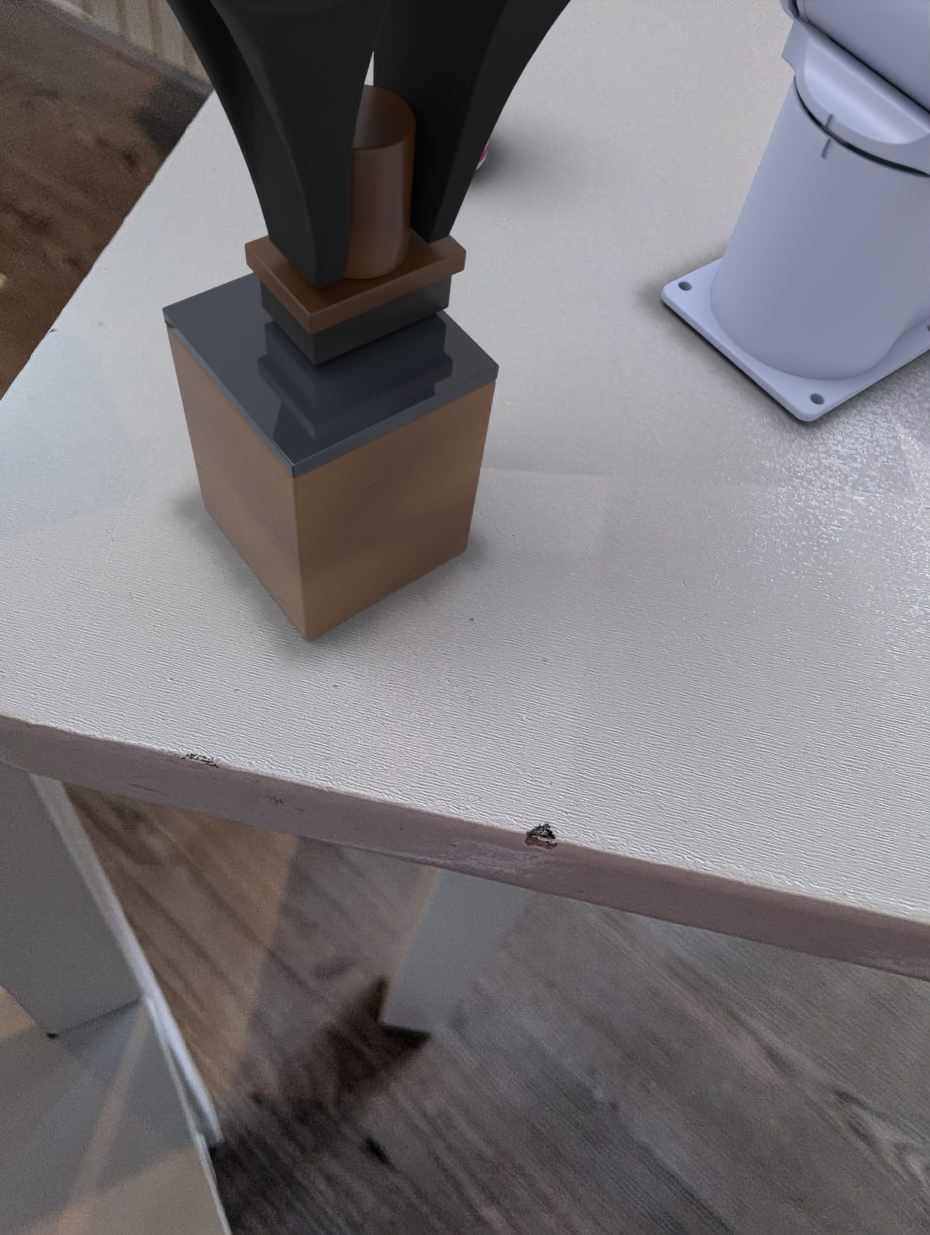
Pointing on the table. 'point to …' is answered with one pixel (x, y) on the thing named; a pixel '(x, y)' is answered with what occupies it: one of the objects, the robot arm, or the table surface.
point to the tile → (323, 374)
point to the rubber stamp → (365, 248)
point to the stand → (337, 501)
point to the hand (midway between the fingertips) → (362, 236)
